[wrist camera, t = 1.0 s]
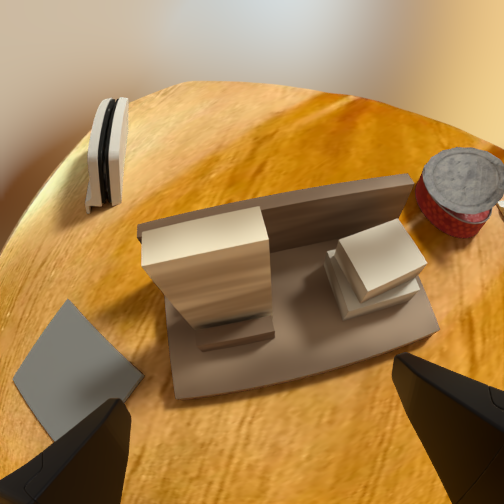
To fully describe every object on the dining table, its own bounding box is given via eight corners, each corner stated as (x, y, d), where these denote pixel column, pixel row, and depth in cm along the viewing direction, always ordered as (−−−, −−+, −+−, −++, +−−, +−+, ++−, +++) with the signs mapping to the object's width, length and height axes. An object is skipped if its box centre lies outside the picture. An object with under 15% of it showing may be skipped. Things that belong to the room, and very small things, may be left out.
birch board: (272, 318, 23) (268, 239, 13) (197, 333, 23) (141, 266, 13) (267, 295, 24) (259, 206, 14) (194, 310, 24) (141, 232, 14)
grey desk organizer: (432, 334, 22) (477, 302, 15) (181, 400, 21) (142, 391, 15) (385, 225, 28) (407, 173, 22) (168, 271, 27) (137, 224, 21)
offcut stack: (411, 299, 22) (433, 276, 19) (342, 321, 22) (355, 299, 18) (388, 246, 25) (403, 217, 21) (322, 261, 25) (329, 232, 21)
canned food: (451, 261, 30) (479, 250, 21) (396, 206, 34) (405, 177, 25) (495, 199, 29) (527, 172, 19) (443, 149, 32) (459, 109, 23)
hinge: (100, 140, 41) (98, 86, 33) (128, 138, 43) (129, 84, 35) (86, 216, 32) (74, 151, 25) (122, 213, 34) (117, 147, 26)
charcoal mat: (77, 465, 18) (74, 465, 17) (15, 380, 22) (12, 379, 21) (144, 375, 22) (142, 374, 22) (70, 300, 26) (67, 298, 26)
